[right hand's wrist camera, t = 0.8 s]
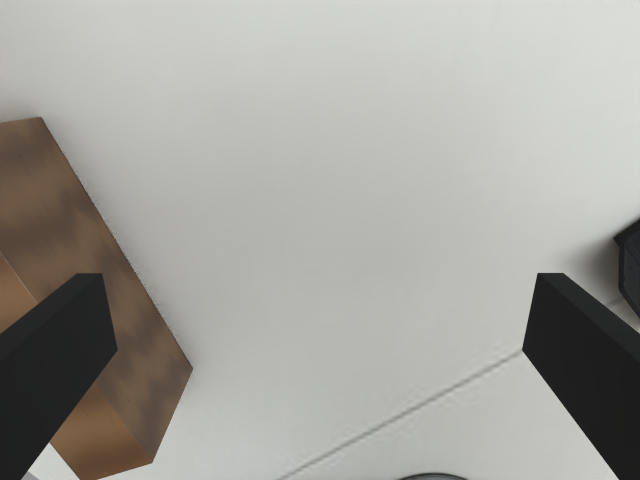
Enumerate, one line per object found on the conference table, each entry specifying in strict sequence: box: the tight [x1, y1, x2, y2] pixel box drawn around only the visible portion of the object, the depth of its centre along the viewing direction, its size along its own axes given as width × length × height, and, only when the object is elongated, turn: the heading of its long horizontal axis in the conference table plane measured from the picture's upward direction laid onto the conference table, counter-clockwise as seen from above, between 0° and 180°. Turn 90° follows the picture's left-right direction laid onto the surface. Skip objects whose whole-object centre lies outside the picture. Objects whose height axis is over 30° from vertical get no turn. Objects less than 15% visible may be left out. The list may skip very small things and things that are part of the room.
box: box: [0, 117, 193, 480], centre depth 33 cm, size 26×6×11 cm, turn 21°
